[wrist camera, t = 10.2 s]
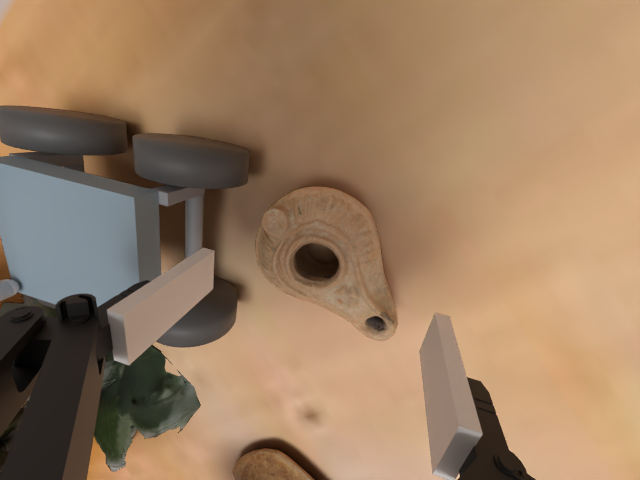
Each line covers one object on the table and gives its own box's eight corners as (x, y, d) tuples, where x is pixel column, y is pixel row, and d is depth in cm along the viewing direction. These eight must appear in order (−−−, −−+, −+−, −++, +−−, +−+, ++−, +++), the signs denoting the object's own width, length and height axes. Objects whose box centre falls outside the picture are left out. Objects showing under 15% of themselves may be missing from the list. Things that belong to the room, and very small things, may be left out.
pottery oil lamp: (353, 339, 26) (294, 384, 21) (296, 217, 28) (229, 231, 22) (444, 318, 20) (394, 373, 15) (366, 164, 22) (296, 166, 16)
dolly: (73, 109, 24) (-1055, 37, 5) (265, 151, 22) (-508, 287, 3) (92, 259, 30) (-440, 490, 11) (249, 305, 28) (-71, 706, 8)
